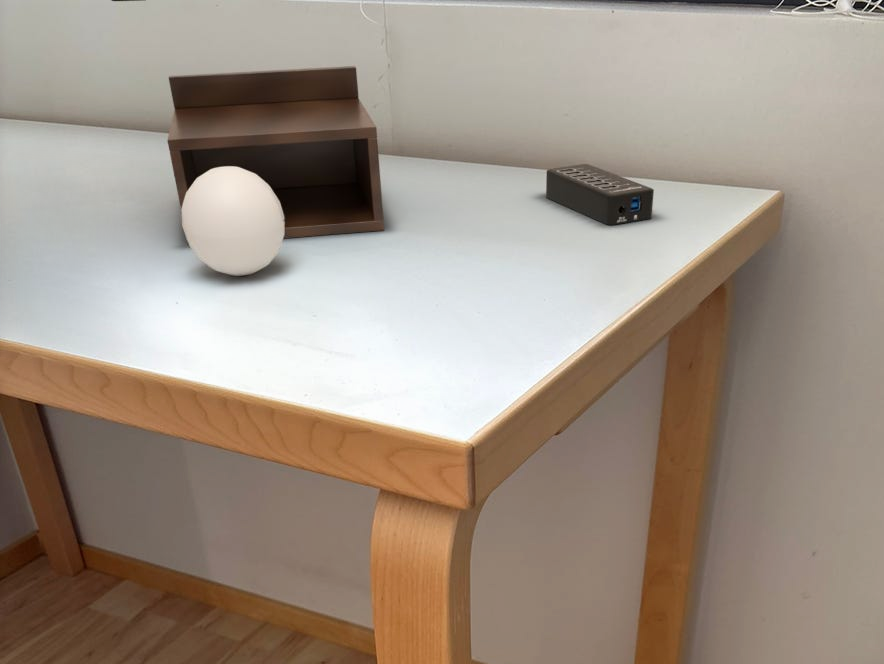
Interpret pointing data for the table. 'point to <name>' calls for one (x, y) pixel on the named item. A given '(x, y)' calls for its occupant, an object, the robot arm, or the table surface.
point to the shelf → (284, 142)
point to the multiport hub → (599, 194)
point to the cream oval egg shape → (233, 220)
